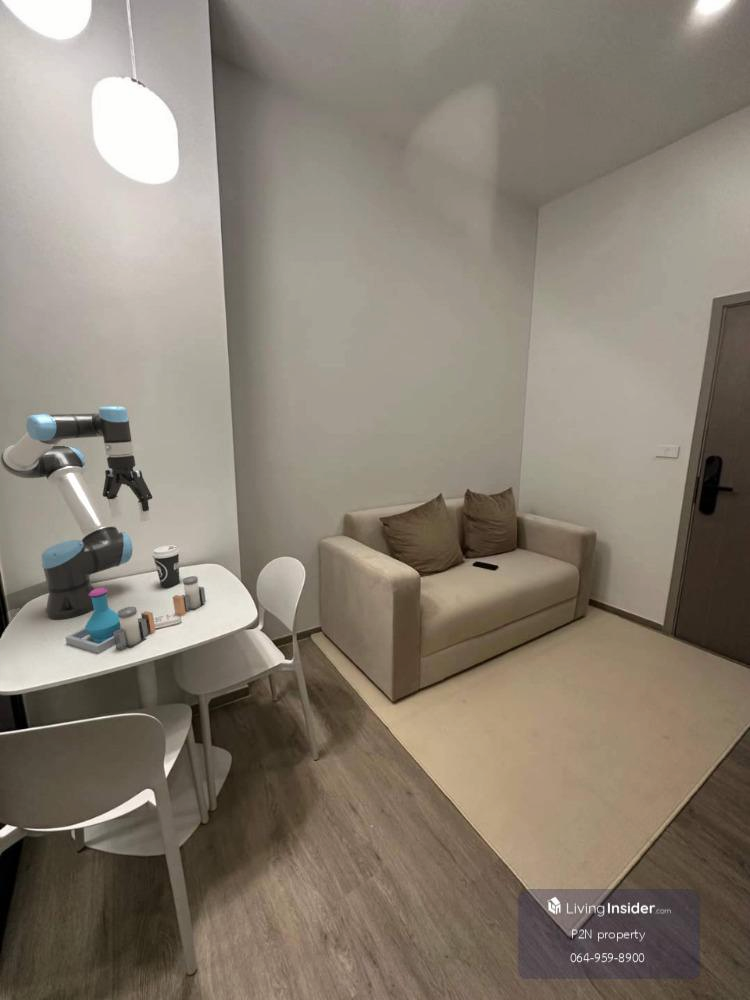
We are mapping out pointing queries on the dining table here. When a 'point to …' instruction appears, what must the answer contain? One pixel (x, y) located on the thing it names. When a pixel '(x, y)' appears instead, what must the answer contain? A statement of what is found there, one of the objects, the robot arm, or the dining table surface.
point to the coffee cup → (167, 565)
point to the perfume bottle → (101, 617)
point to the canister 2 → (192, 591)
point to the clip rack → (148, 621)
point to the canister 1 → (130, 625)
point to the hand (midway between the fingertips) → (130, 519)
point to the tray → (88, 642)
